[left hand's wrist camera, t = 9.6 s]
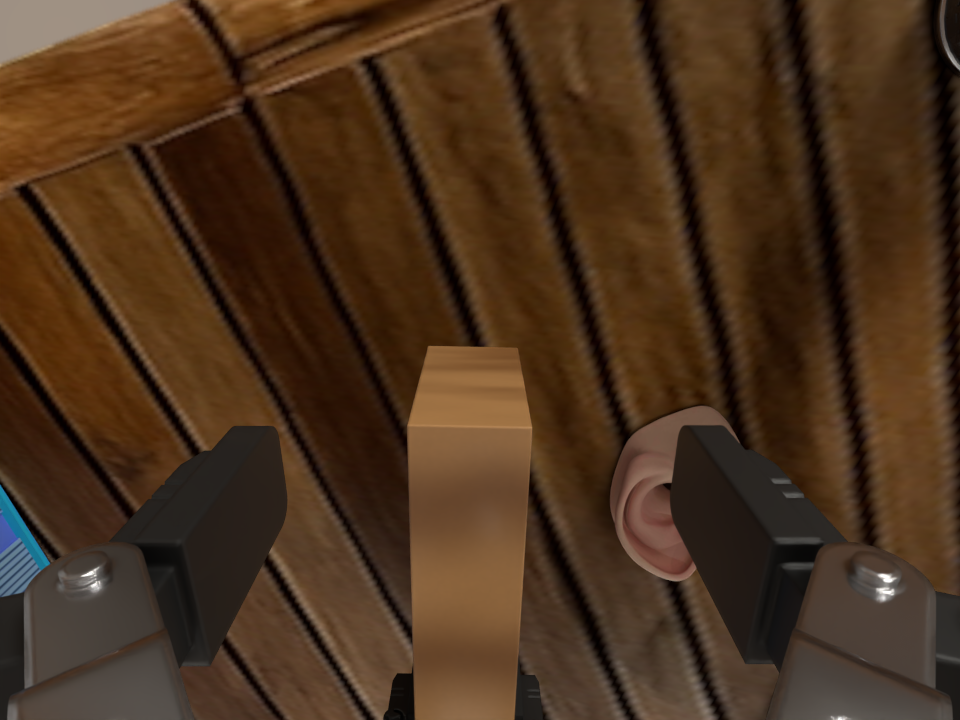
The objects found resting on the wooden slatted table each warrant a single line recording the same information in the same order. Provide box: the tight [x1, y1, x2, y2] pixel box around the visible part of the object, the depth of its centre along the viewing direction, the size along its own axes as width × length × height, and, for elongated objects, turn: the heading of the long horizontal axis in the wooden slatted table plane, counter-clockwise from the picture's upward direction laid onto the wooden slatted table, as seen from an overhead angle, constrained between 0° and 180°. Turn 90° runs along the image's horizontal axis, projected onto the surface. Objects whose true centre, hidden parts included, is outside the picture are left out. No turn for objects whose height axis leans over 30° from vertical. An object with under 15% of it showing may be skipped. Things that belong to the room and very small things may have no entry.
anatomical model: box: [610, 406, 740, 581], centre depth 45 cm, size 13×4×12 cm
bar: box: [407, 346, 532, 720], centre depth 31 cm, size 24×5×10 cm, turn 179°
